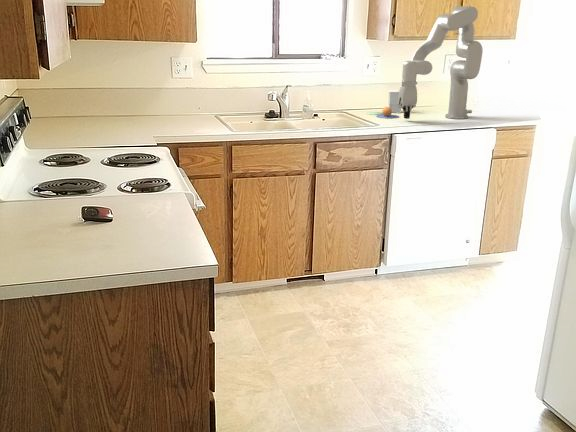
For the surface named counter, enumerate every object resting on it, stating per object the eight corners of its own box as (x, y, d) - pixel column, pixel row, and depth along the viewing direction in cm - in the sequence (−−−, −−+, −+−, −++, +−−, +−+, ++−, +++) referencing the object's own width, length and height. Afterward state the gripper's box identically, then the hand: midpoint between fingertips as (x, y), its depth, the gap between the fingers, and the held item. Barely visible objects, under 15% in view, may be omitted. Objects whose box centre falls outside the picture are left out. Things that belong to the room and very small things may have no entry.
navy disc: (390, 114, 353) (390, 113, 353) (403, 117, 342) (403, 117, 342) (371, 115, 348) (371, 115, 348) (384, 119, 337) (384, 118, 337)
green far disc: (377, 111, 361) (377, 111, 361) (387, 114, 353) (387, 113, 353) (363, 112, 357) (363, 112, 357) (373, 115, 349) (373, 115, 349)
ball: (391, 117, 347) (386, 110, 349) (395, 111, 342) (390, 104, 344) (383, 119, 344) (379, 112, 346) (387, 113, 340) (382, 105, 342)
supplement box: (400, 111, 364) (401, 90, 360) (401, 113, 357) (402, 91, 353) (387, 111, 365) (388, 89, 361) (388, 112, 358) (389, 91, 354)
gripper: (415, 83, 331) (413, 116, 337) (393, 84, 324) (391, 118, 330) (424, 84, 324) (421, 118, 330) (401, 85, 318) (399, 120, 324)
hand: (406, 118), depth 330 cm, fingers closed
